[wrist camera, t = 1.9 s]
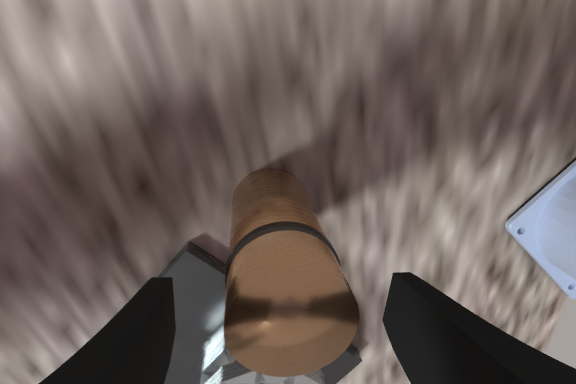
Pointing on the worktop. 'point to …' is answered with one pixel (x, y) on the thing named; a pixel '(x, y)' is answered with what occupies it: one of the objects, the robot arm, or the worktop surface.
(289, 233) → the brown banded cylinder
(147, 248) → the worktop surface
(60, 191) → the worktop surface
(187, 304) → the collar stand
